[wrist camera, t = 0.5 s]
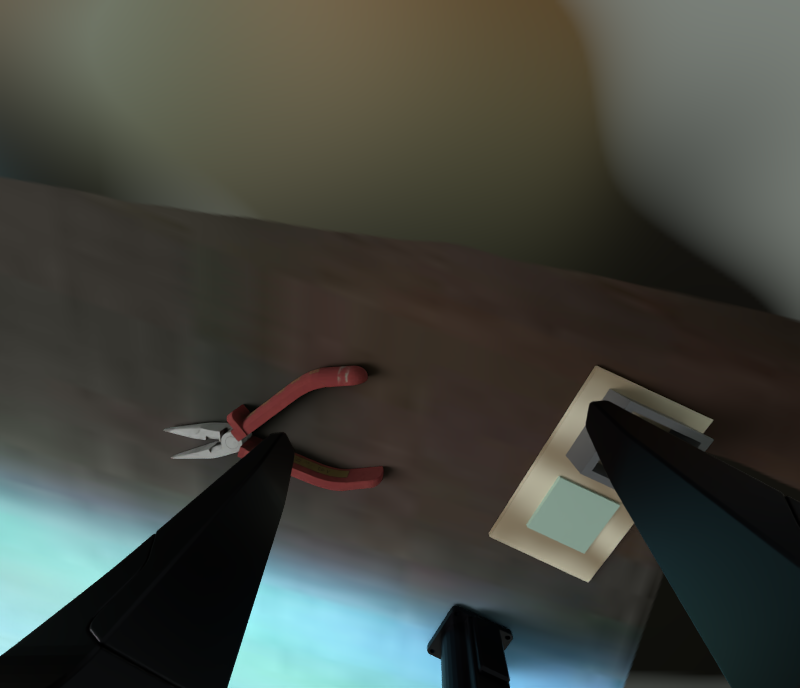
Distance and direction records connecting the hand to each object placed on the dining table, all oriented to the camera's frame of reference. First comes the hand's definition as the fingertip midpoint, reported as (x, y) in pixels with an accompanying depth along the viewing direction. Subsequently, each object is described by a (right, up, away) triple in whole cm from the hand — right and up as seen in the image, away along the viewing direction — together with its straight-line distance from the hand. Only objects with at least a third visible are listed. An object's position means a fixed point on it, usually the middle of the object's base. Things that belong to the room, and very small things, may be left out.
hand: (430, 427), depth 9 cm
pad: (+14, -12, +17) cm, 26 cm away
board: (+16, -9, +17) cm, 25 cm away
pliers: (-12, -4, +19) cm, 23 cm away
